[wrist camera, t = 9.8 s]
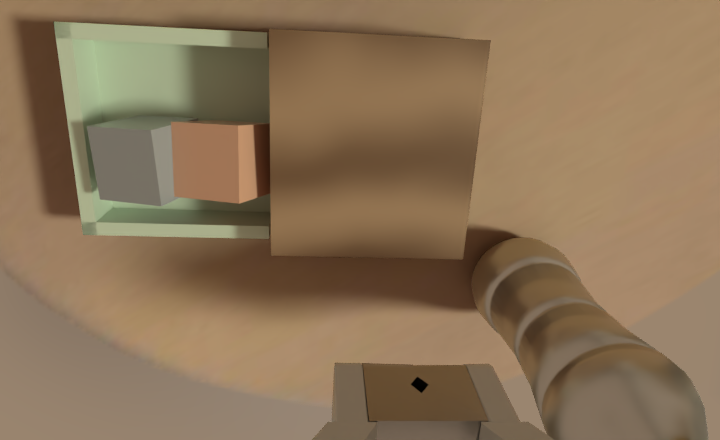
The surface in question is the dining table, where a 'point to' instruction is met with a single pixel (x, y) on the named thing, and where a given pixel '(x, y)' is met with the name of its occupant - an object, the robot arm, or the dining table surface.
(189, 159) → the peach colored cube
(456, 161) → the brown wooden block
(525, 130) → the dining table surface
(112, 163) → the matte grey cube
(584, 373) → the plastic bottle
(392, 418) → the robot arm
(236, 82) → the tray
